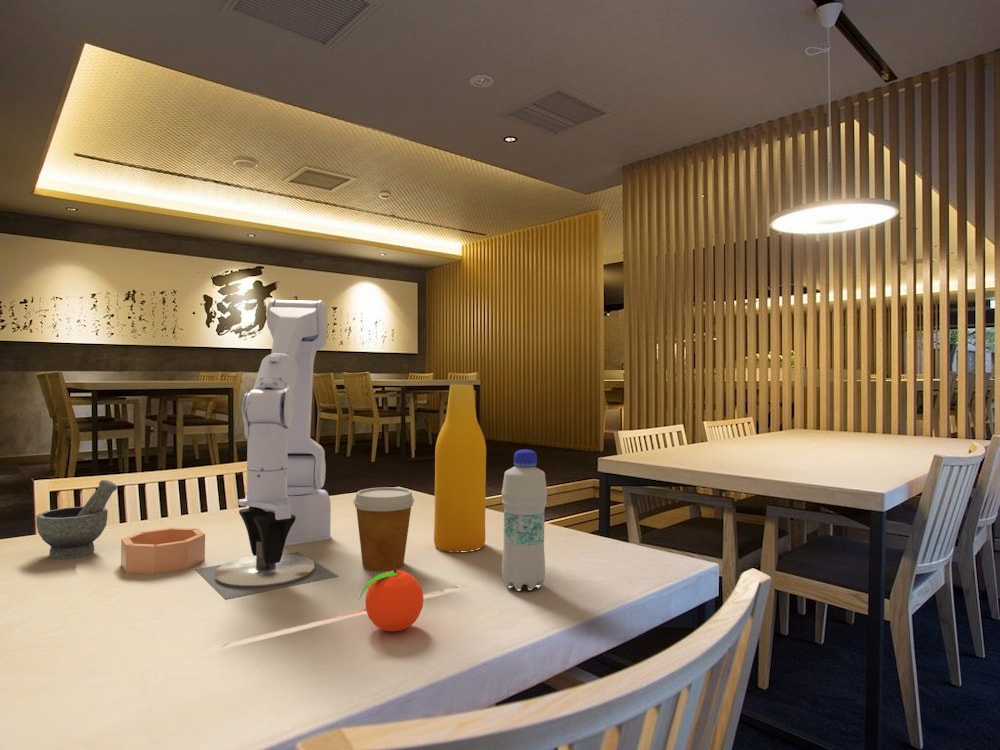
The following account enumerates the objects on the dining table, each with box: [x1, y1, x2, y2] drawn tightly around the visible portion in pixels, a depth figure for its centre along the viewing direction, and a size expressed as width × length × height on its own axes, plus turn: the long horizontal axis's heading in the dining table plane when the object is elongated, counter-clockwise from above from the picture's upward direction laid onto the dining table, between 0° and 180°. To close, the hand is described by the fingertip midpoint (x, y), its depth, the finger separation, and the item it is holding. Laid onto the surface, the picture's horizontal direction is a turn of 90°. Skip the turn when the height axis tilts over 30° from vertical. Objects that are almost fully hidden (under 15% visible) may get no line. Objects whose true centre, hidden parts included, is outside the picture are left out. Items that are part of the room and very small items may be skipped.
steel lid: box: [215, 539, 315, 588], centre depth 93 cm, size 14×14×5 cm
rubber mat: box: [194, 551, 339, 601], centre depth 93 cm, size 16×16×1 cm
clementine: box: [358, 569, 425, 632], centre depth 74 cm, size 8×7×7 cm
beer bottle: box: [433, 384, 487, 553], centre depth 111 cm, size 9×9×29 cm
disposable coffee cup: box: [352, 486, 415, 572], centre depth 98 cm, size 10×10×12 cm
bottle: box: [501, 449, 548, 590], centre depth 90 cm, size 7×7×20 cm
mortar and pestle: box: [36, 479, 118, 559], centre depth 104 cm, size 11×9×12 cm
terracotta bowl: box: [120, 527, 206, 575], centre depth 98 cm, size 11×11×4 cm
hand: (266, 558), depth 93 cm, fingers open, 5 cm apart
